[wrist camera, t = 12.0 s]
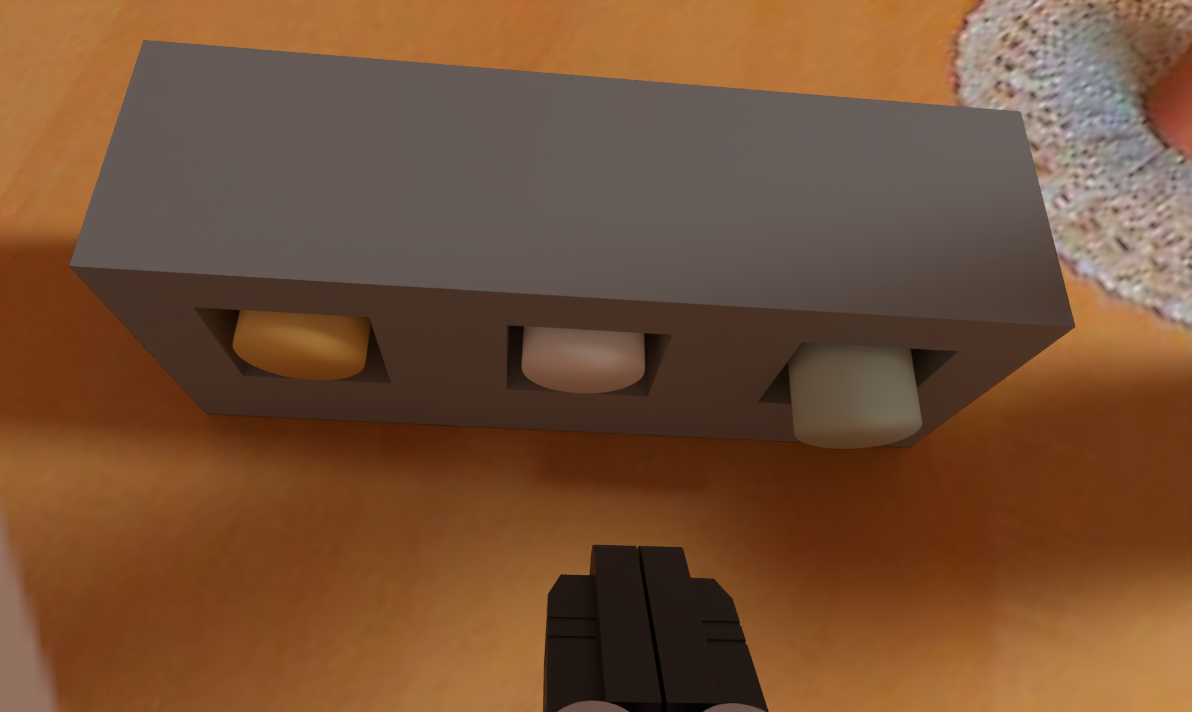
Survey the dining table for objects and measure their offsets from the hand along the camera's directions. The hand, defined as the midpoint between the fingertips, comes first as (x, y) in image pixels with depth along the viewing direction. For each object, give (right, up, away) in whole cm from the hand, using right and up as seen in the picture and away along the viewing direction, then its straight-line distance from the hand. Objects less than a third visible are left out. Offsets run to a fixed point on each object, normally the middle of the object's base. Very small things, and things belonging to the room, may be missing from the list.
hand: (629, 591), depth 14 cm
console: (-2, +4, +20) cm, 21 cm away
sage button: (+8, +3, +16) cm, 18 cm away
